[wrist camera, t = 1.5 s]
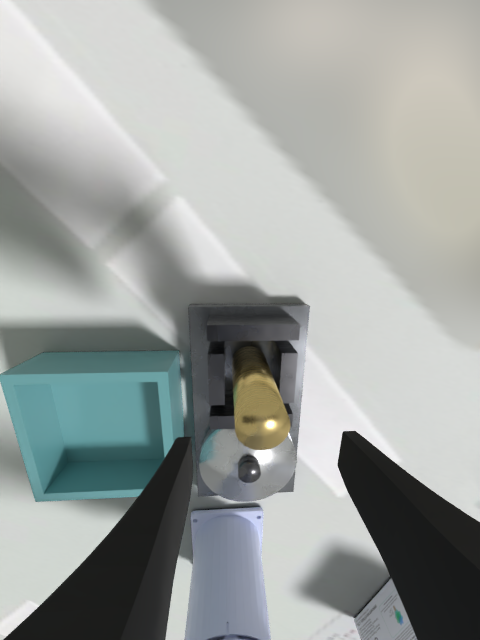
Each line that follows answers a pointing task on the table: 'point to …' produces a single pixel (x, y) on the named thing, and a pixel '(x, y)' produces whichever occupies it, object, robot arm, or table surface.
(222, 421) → the plate
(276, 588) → the table surface
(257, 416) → the pin
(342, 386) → the table surface
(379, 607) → the ink cartridge box
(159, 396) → the tray
